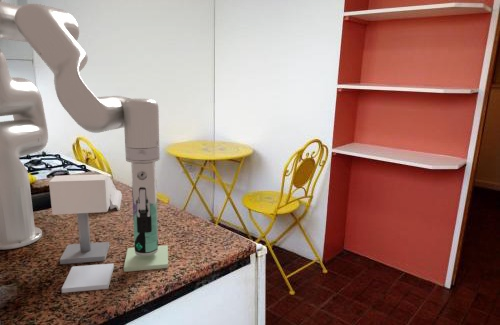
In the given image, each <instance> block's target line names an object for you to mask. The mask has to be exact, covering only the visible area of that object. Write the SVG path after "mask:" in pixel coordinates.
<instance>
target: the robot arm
mask: <svg viewBox="0 0 500 325" xmlns="http://www.w3.org/2000/svg"><path fill="white" fill-rule="evenodd" d="M79 38H80V27H79V24H78V22H77V21H76V19H75V17H74V16H73V15H72V14H71V13H69V12H68V11H66V10H64V9H60V8H56V7H51V6H49V5H45V4H44V5H43V4H41V3H27V4H24V5H18V4H15V3H10V2H5V1H2V0H1V1H0V40H6V41H7V40H8V41H15V42H16V41H17V42H25V43H28V44H29V45H30V47H31V48H32V49H33V51H35V53H36V54H37V55H38V56H39V58H40V59H41V60H42V61H43V62H44V63H45V65H46V66H47V67H48V69H50V71H51V72H52V74H53V77H54V78H53V85H54V90H55V92H56V93H55V94H56V96H57V99H58V101H59V103H60V104H61V106H62V107H63V110H65V112H67V114H68V115H69V116H70V117H71V118H72V119H73V120H74V122H76V124H77V125H78V126H80V128H82V129H83V130H85V131H86V132H89V133H94V134H98V133H104V132H108V131H112V130H118V129H123V128H124V131H123V132H124V150H125V161H126V162H128V163H130V164H131V189H132V188H133V198H132V200H133V199H134V204H135V205H137V232H138V233H147V232H151V231H152V223H151V215H150V204H152V203H153V204H155V203H156V198H158V197H157V195H158V193H157V192H158V191H157V190H158V187H157V164H156V162H159V161H160V159H161V158H160V119H159V117H160V116H159V104H158V102H157V101H156V100H155V99H153V98H152V99H151V98H132V97H131V98H130V97H125V96H122V95H110V96H107V95H106V96H96V95H95V94H94V92H92V90H90V88H89V87H88V86H87V84H86V83H85V82H84V81H83V79H82V77H81V74H80V72H81V71H83V69H84V68H85V66H86V64H87V63H88V54H87V52H86V51H85V50H84V48H83V47H82V46H81V45H80V43H78V39H79ZM43 102H44V101H43V99H42V94H41V92H40V91H39V89H38V87H37V85H35V83H33V82H32V81H30V79H26V78H23V77H11V75H10V70H9V66H8V61H7V59H6V56H5V54H4V53H3V51H2V50H1V49H0V117H5V116H12V117H13V120H4V121H0V250H12V249H17V248H18V249H19V248H22V247H25V246H28V245H31V244H33V243H36V242H37V241H39V240H40V239H41V238H42V236H43V231H42V229H41V228H39V227H37V226H35V219H34V218H35V217H34V211H33V210H34V209H33V202H32V201H33V200H32V194H31V193H32V192H31V191H32V190H31V185H30V184H31V183H30V176H29V172H28V169H27V168H26V166H25V165H24V164H23V162H21V160H20V158H21V157H24V156H27V155H32V154H35V153H38V152H40V151H43V150H44V148H45V147H46V146H47V144H48V142H49V141H48V140H49V132H48V124H47V119H46V114H45V108H44V103H43ZM141 174H143V175H141ZM139 201H140V203H139ZM146 201H148V203H146ZM146 206H147V208H146Z"/></svg>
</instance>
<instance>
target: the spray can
mask: <svg viewBox="0 0 500 325" xmlns="http://www.w3.org/2000/svg"><path fill="white" fill-rule="evenodd" d="M141 175H143V174H141ZM131 195H132V216H133V239H134V242H133V244H134V248H135V253H136V254H137V255H139V256H149V255H153V254H155V253H156V252H157V251H158V246H159V241H158V240H159V238H158V208H157V207H158V206H157V205H158V202H157V201H158V200H157V198H158V197H157V198H156V203H155V204H153V203H152V204H150V215H151V223H152V231H151V232H147V233H138V232H137V205H135V204H134V199H133V188H132V187H131ZM139 203H140V201H139ZM146 203H148V201H146ZM146 208H147V206H146Z"/></svg>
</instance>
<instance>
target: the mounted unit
mask: <svg viewBox="0 0 500 325" xmlns="http://www.w3.org/2000/svg"><path fill="white" fill-rule="evenodd" d="M108 177H109V173H106V174H105V173H104V174H101V173H100V174H74V175H73V174H70V175H69V174H67V175H54V176H53V177H52V178H51V179H50V180H49V181H48V184H49V195H50V205H51V215H52V216H53V215H54V216H56V215H71V214H72V215H75V214H76V215H77V224H78V226H77V227H78V228H77V229H78V238H79V243H72V244H71V243H69V244H67V246H66V247H65V249H64V251H63V253H62V255H61V257H60V258H59V265H67V264H68V265H70V264H81V263H82V264H83V263H95V262H105V261H106V258H107V256H108V252H109V249H110V241H104V242H103V241H100V242H91V233H90V221H89V220H90V219H89V214H93V213H107V212H108V211H109V210H110V209H109V206H110V196H109V180H108Z"/></svg>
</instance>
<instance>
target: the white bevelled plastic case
mask: <svg viewBox="0 0 500 325" xmlns="http://www.w3.org/2000/svg"><path fill="white" fill-rule="evenodd" d="M108 180H109V196H110V206H109V209H108V210H113V209H115V208H116V210H117V211H118V212H119V211H120V210H121V209H120V208H121V204H122V199H123V194H122V192H121V190H118V189H117V188H116V186H115V184H114V183H113V180H112V178H111V177H110V176H108Z"/></svg>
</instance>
